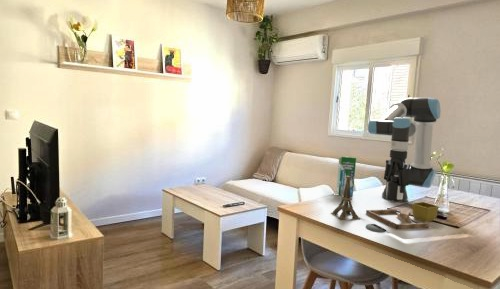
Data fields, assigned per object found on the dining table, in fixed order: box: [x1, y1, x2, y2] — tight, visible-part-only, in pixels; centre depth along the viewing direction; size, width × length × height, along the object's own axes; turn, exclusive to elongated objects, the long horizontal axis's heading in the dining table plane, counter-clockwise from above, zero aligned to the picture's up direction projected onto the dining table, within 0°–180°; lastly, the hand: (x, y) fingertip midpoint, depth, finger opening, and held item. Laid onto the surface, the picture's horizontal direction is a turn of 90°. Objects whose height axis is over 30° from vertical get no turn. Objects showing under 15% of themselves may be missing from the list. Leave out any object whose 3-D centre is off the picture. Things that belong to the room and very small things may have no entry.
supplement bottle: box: [385, 175, 402, 203], centre depth 157 cm, size 7×7×12 cm
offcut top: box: [399, 209, 412, 219], centre depth 161 cm, size 4×8×2 cm, turn 143°
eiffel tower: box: [330, 174, 361, 221], centre depth 165 cm, size 11×11×25 cm
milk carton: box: [335, 155, 357, 197], centre depth 214 cm, size 9×9×25 cm
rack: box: [365, 208, 430, 231], centre depth 159 cm, size 18×22×4 cm
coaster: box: [365, 223, 388, 233], centre depth 150 cm, size 9×9×1 cm
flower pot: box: [411, 201, 439, 223], centre depth 164 cm, size 9×9×9 cm
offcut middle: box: [396, 213, 413, 224], centre depth 161 cm, size 4×7×2 cm, turn 2°
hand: (394, 196), depth 158 cm, fingers closed on supplement bottle, 7 cm apart
